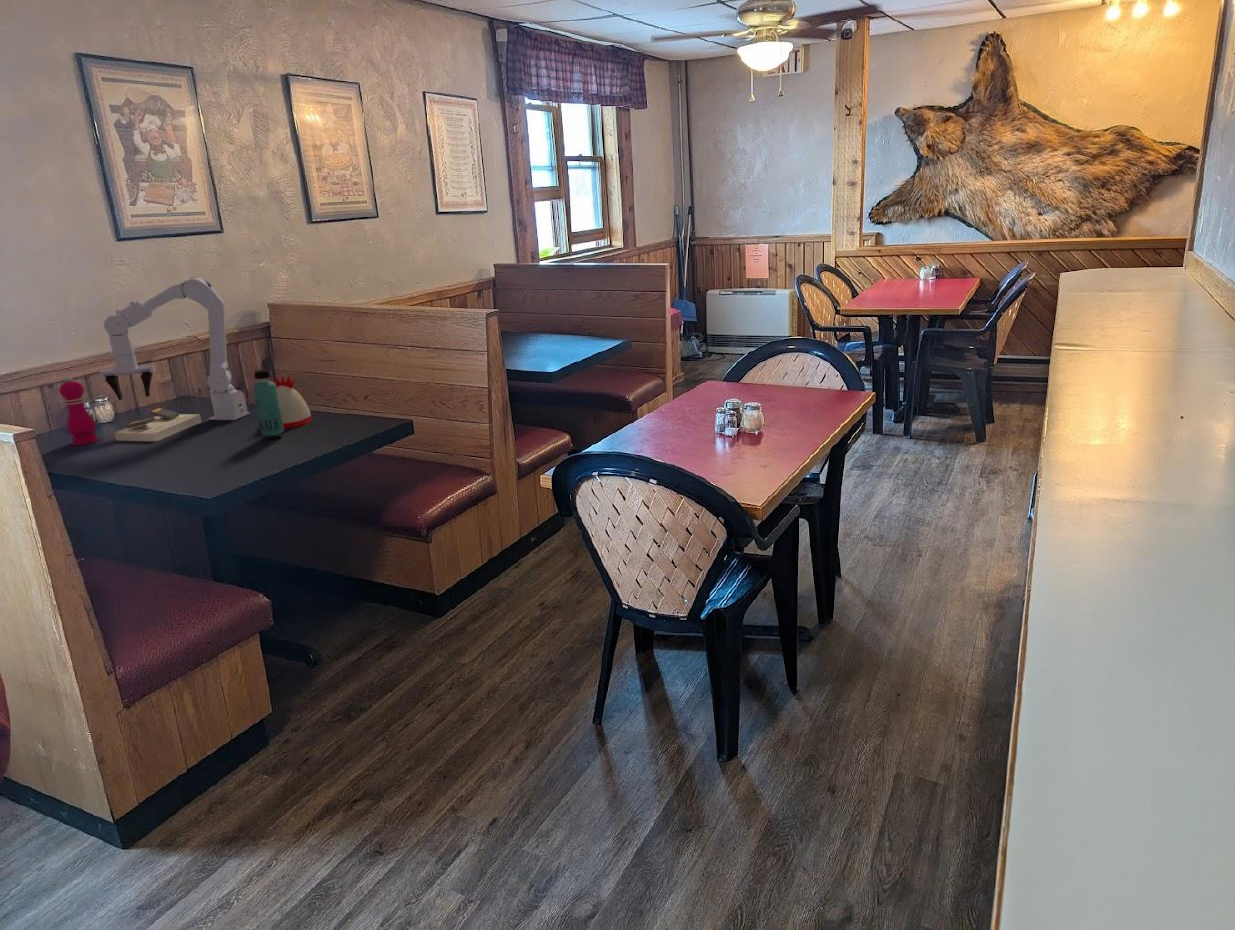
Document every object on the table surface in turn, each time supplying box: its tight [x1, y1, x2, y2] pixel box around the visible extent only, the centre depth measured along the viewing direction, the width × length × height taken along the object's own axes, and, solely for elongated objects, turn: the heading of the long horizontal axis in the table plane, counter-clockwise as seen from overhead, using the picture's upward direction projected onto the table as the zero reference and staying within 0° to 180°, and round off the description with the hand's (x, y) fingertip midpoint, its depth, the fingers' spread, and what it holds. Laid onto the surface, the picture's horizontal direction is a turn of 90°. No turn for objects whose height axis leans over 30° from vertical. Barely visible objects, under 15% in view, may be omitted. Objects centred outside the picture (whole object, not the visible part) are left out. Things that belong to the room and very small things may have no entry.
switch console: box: [114, 413, 202, 442], centre depth 261 cm, size 14×20×3 cm
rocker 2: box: [149, 407, 180, 419], centre depth 265 cm, size 7×4×1 cm, turn 78°
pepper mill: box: [59, 376, 98, 446], centre depth 251 cm, size 7×7×20 cm
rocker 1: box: [126, 416, 155, 428], centre depth 256 cm, size 7×4×1 cm, turn 77°
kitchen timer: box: [270, 374, 312, 430], centre depth 261 cm, size 14×14×15 cm
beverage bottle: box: [252, 368, 285, 436], centre depth 245 cm, size 6×7×20 cm
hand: (134, 397), depth 263 cm, fingers open, 7 cm apart
